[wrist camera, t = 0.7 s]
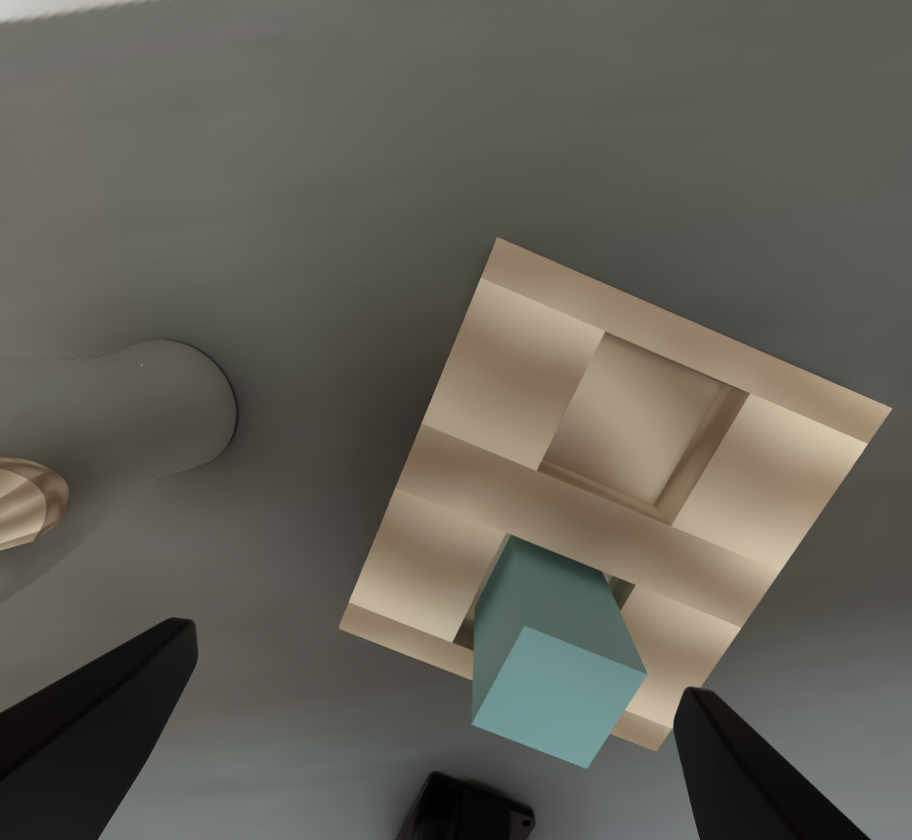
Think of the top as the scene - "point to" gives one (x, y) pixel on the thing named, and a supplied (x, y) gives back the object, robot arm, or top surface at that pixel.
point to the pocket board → (605, 475)
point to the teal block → (551, 654)
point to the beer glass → (97, 443)
